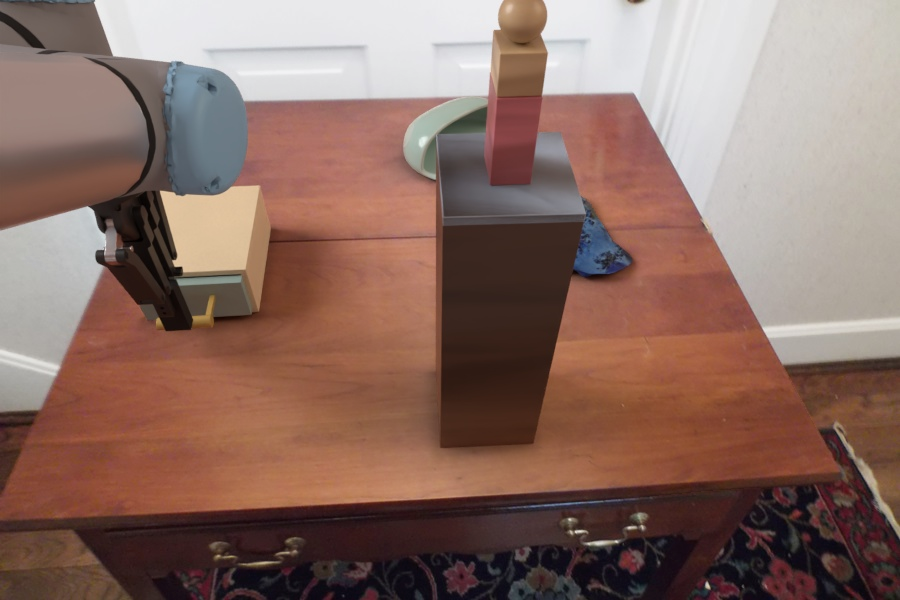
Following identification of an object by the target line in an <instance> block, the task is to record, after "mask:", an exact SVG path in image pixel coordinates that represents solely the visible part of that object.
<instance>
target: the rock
mask: <svg viewBox="0 0 900 600" xmlns="http://www.w3.org/2000/svg"><path fill="white" fill-rule="evenodd" d="M580 196H581V199H582V202H583V206H584V209H585V212H586V216H585V220H584V224H583V229H582V233H581V237H580V242H579V246H578V250H577V255H576V259H575V264H574V268H573V271H575V272H577V273H578V274H579V275H580V276H581V277H584V278H588V277H590V276H595V275H609V274H613V273H616V272H618V271H621V270H624V269H625V268H627V267H629V266H630V265H631V264H632V263H633V257H632V256H631V255H630V253H628V251H626V250H625V249H624V248H623V247H621V246H620V245H619V244H617V242H615V241H614V240H613V238H611V235H610V233H609V232H608V230H607V229H606V228H605V226H604V225H603V223H602V222H601V220H600V218H599V217H598V214H597V213H596V211H595V209H594V207H593V204H592V203H591V202H590V201H589V200H588V199H587V198H586V197H584V196H582V195H580Z"/></svg>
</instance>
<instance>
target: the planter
mask: <svg viewBox="0 0 900 600" xmlns="http://www.w3.org/2000/svg"><path fill="white" fill-rule="evenodd" d="M487 109H488V98H485V97H481V96H471V95H469V96H462V97H457V98H454V99H450V100H447V101H445V102H443V103H440V104H438V105H436V106H434V107H432V108H430V109H428V110H426V111H424V112H423V113H421V114H420V115H419V116H417V117H416V118H415V119H413V121H411V123H410V124H409V125H408V127H407V129H406V131H405V133H404V136H403V143H402V151H403V156H404V158H405V161H406V163H407V164H408V166H409V167H410V168H411V169H413V171H415V172H416V173H418V174H419V175H421V176H423V177H425V178H427V179H430V180H433V181H436V134H481V133H486V123H487Z"/></svg>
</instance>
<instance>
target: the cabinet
mask: <svg viewBox="0 0 900 600" xmlns="http://www.w3.org/2000/svg"><path fill="white" fill-rule="evenodd" d="M160 194H161V197H162V201H163V205H164V208H165V212H166V215H167V219H168V223H169V226H170V230H171V233H172V237H173V241H174V244H175V248H176V251H177V259H176V260H172V261H173V264H174V266H175V267H183V275H182V276H178V277H193V276H213V275H233V274H241V275H242V276H243V280H244V283H245V286H246V289H247V292H248V295H249V298H250V301H251V305H252V313H259V312H260V307H261V301H262V295H263V286H264V280H265V273H266V265H267V258H268V251H269V244H270V239H271V238H270V237H271V231H272V227H271V223H270V219H269V215H268V211H267V207H266V203H265V199H264V196H263V191H262V187H261V185H259V184H257V185H237V186H236V185H232V186H231V187H230V188H229V189H228V190H227V191H225V192H223V193H221V194H218V195H213V196H209V195H188V194H186V195H185V196H180V195H176V194H175V193H173V192H167V191H160Z"/></svg>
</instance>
